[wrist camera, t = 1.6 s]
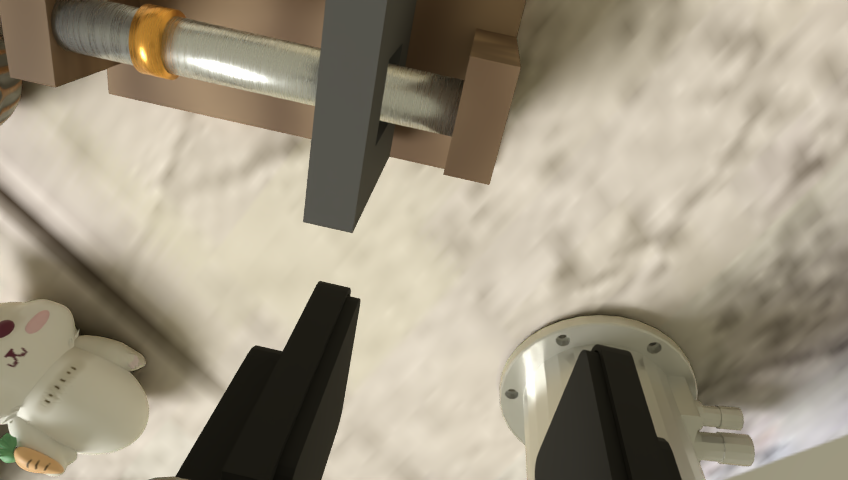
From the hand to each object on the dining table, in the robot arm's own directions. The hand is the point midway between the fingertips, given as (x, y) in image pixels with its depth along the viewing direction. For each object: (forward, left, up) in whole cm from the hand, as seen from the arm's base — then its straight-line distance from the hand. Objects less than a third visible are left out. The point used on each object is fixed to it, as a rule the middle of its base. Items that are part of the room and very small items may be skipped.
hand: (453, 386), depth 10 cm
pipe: (+9, -2, -18) cm, 21 cm away
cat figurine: (+28, +20, -24) cm, 42 cm away
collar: (+5, -1, -21) cm, 22 cm away
